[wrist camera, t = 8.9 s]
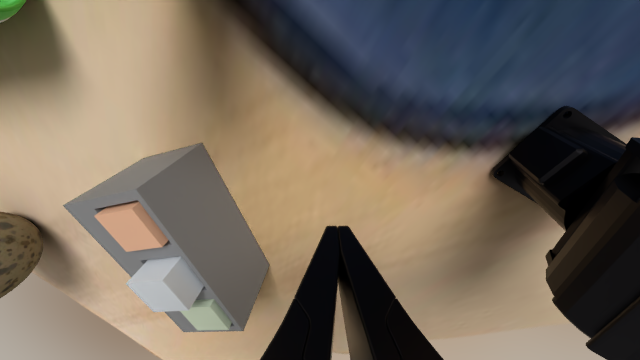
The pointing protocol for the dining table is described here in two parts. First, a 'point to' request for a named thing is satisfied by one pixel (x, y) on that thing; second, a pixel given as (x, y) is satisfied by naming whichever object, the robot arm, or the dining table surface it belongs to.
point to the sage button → (207, 315)
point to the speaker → (9, 8)
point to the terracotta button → (131, 226)
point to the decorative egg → (17, 250)
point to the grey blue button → (166, 284)
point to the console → (184, 228)
